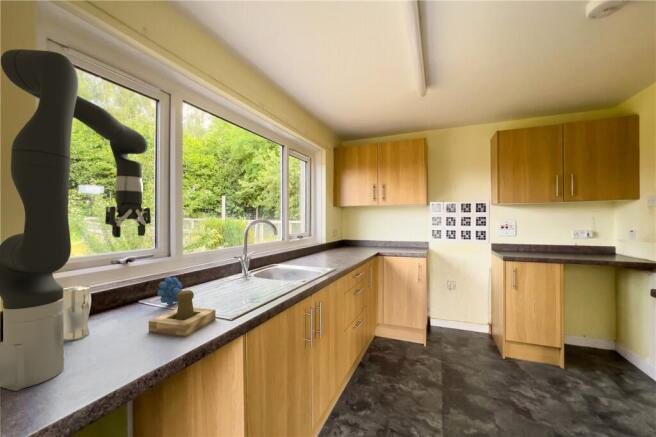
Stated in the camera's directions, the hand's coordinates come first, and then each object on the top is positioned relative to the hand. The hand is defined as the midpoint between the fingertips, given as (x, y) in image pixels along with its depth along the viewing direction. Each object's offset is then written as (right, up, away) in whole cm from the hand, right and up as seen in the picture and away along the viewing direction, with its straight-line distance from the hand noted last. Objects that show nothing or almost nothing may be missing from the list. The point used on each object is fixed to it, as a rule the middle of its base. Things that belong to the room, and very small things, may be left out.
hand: (129, 236), depth 91 cm
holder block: (+21, -30, -3) cm, 37 cm away
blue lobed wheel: (+5, -30, +18) cm, 35 cm away
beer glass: (-8, -30, -11) cm, 33 cm away
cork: (+21, -30, -3) cm, 36 cm away
